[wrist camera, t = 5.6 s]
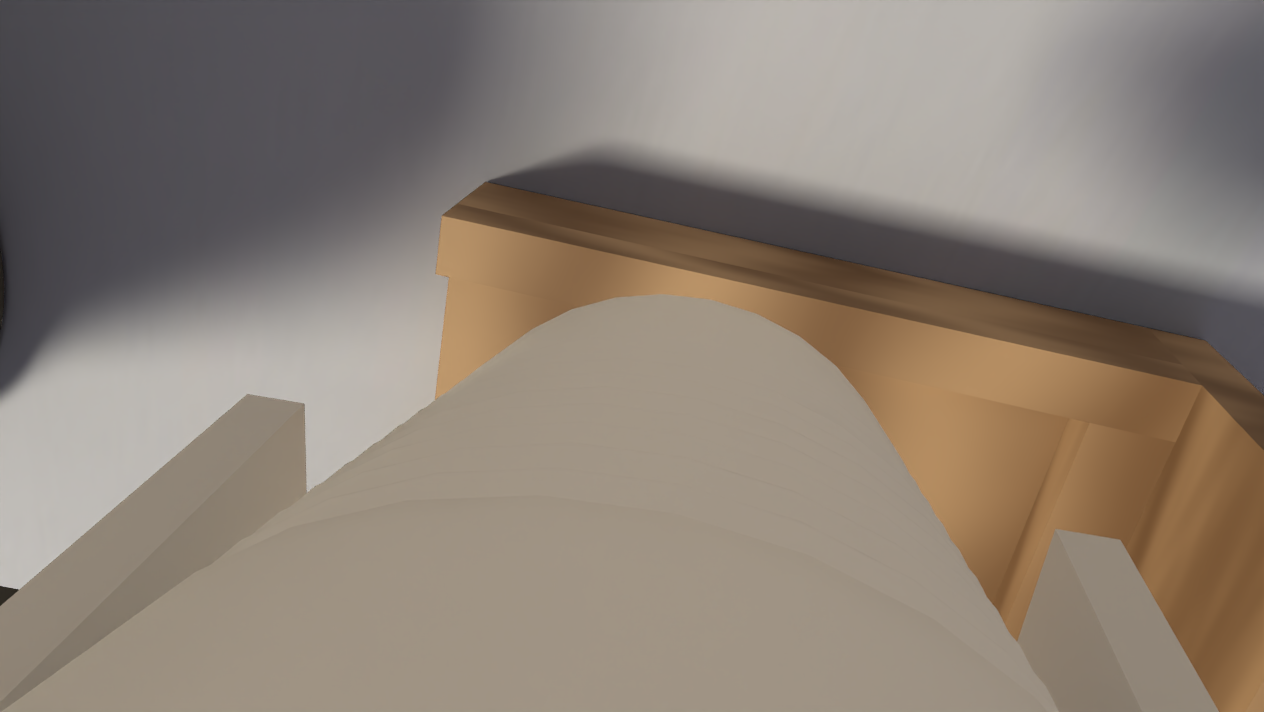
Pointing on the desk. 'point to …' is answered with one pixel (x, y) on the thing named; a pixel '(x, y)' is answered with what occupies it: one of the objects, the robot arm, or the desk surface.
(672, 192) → the desk surface
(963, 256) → the desk surface
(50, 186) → the desk surface
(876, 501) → the cup
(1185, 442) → the bracket shelf
